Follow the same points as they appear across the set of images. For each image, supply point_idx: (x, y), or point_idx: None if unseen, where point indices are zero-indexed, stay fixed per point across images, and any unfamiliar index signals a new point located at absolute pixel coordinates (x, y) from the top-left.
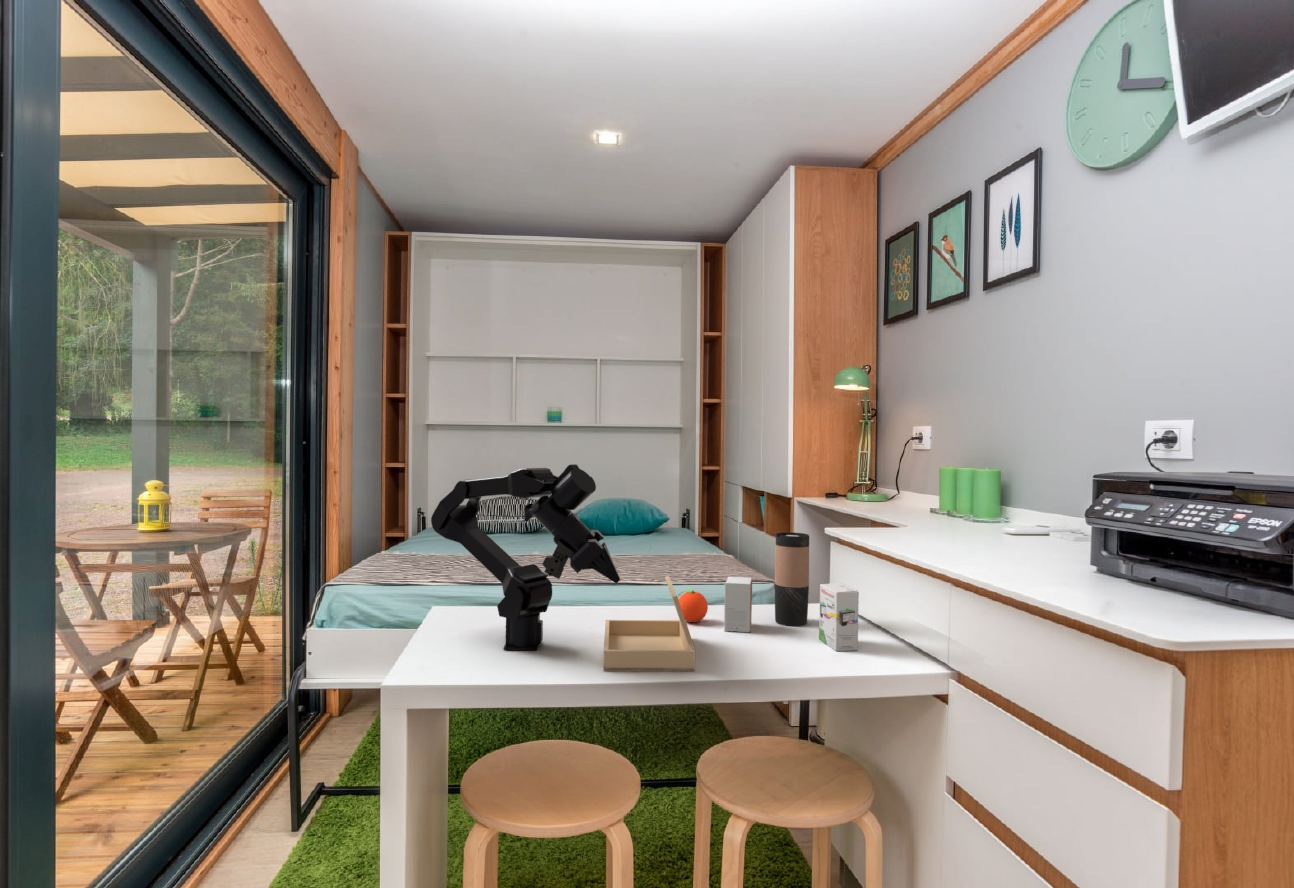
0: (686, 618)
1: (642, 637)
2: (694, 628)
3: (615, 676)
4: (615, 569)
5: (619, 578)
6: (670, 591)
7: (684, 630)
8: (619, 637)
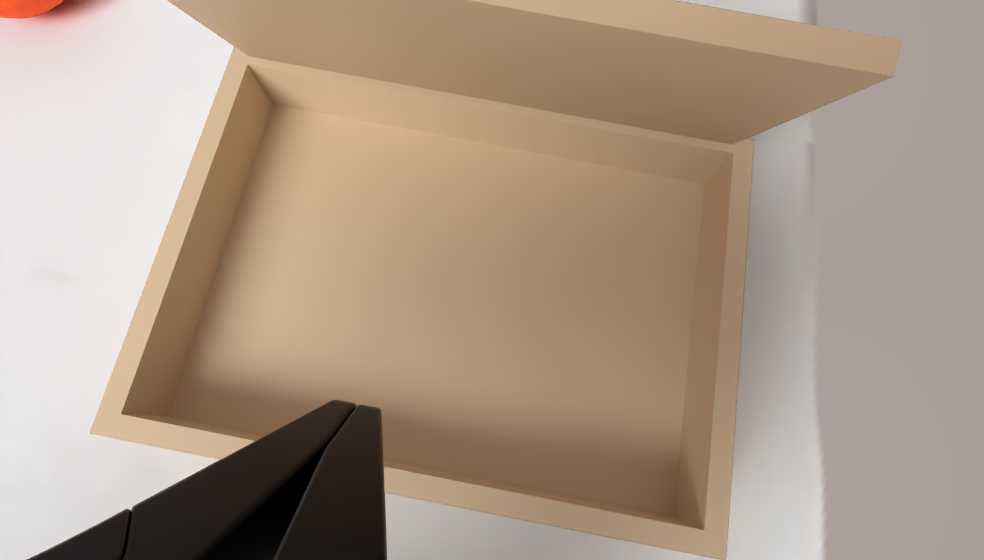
0: (53, 5)
1: (262, 264)
2: (149, 13)
3: (758, 496)
4: (377, 485)
5: (380, 415)
6: (674, 37)
7: (766, 129)
8: (230, 372)
